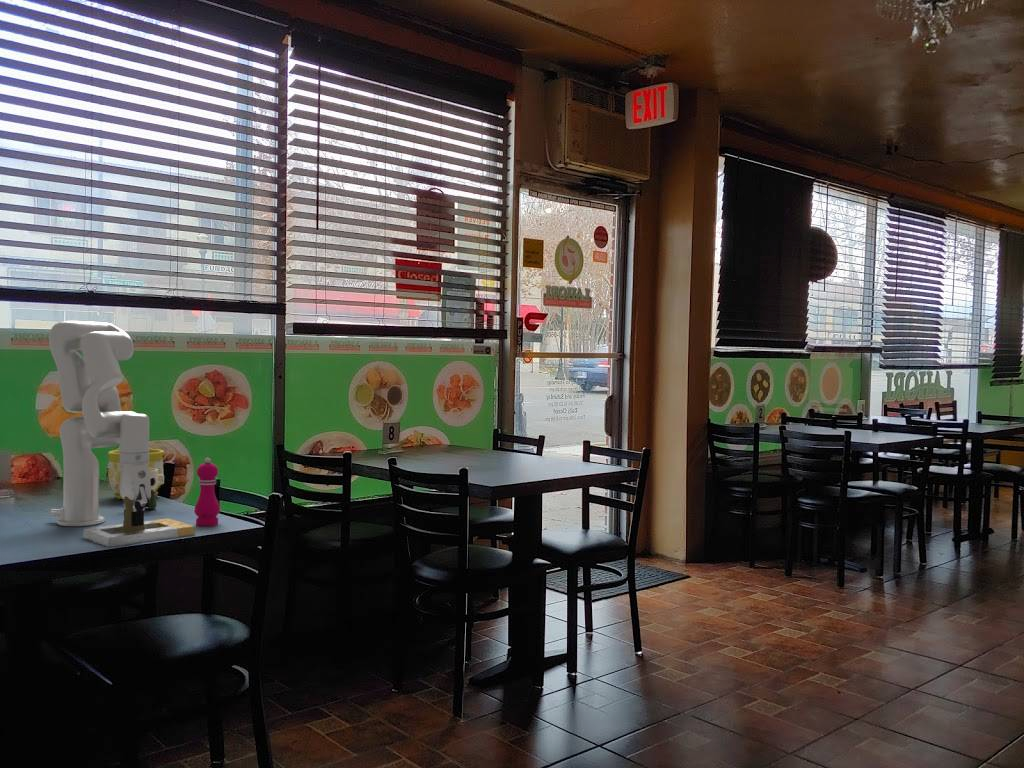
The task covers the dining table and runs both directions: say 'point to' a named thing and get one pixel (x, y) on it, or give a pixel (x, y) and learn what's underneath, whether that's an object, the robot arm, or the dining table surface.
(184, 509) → the dining table surface
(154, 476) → the character mug
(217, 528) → the dining table surface
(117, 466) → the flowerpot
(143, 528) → the brown shaker
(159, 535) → the white and tan tray
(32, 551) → the dining table surface
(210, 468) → the pepper mill
